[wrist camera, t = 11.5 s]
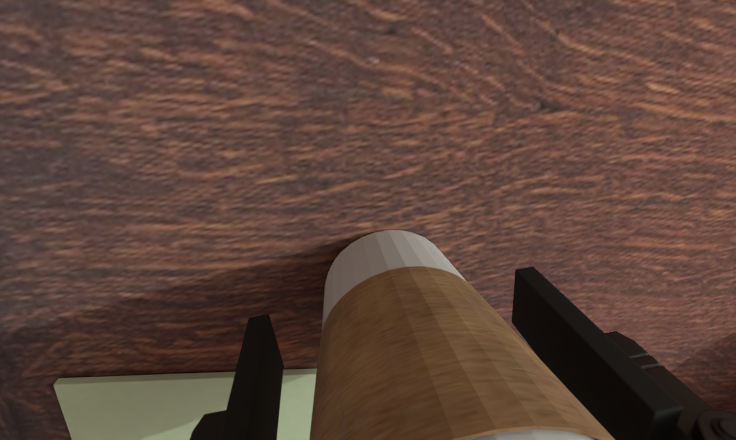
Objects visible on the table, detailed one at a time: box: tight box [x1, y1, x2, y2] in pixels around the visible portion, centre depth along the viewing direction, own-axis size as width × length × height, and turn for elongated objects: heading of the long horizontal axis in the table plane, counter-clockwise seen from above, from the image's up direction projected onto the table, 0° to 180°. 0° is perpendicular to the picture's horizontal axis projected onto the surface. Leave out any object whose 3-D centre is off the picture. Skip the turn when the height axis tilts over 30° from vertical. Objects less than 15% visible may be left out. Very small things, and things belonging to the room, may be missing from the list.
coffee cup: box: [309, 230, 615, 440], centre depth 10 cm, size 8×8×15 cm
